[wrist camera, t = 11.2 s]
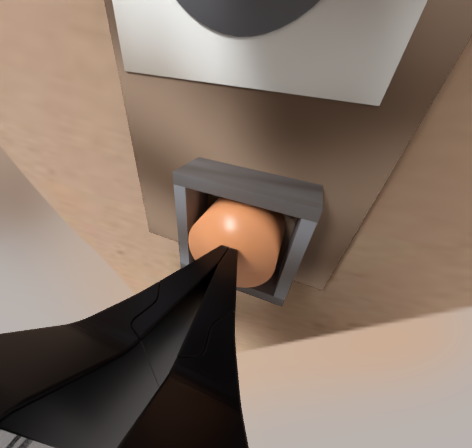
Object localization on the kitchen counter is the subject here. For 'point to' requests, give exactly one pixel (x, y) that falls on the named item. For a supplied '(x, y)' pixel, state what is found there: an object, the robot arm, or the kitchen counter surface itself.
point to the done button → (241, 238)
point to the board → (278, 111)
